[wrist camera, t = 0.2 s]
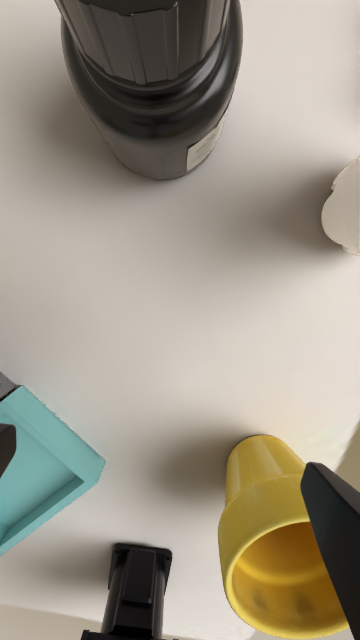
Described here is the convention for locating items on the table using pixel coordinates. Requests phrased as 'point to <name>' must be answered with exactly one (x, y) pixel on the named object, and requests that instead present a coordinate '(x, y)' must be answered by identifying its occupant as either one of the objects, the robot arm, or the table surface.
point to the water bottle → (344, 209)
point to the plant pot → (273, 546)
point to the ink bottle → (154, 76)
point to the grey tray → (5, 386)
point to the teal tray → (40, 468)
